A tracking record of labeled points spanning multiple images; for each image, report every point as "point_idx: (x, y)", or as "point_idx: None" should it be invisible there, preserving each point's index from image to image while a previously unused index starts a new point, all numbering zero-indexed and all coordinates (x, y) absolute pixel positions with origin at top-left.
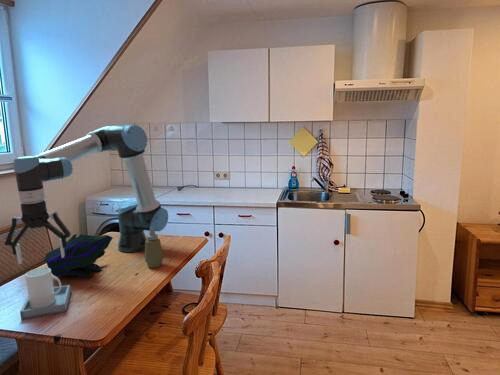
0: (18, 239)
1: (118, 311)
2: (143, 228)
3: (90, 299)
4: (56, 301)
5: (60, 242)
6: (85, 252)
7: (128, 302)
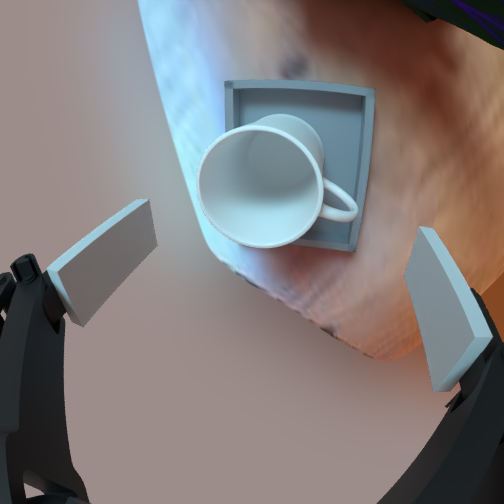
0: (59, 370)
1: None
2: None
3: (424, 193)
4: (326, 166)
5: (438, 372)
6: (485, 14)
7: (485, 267)
